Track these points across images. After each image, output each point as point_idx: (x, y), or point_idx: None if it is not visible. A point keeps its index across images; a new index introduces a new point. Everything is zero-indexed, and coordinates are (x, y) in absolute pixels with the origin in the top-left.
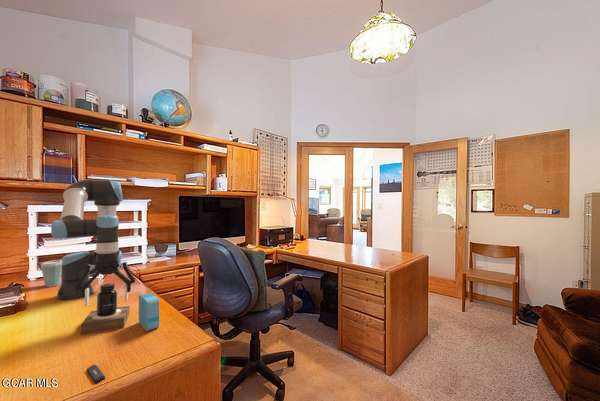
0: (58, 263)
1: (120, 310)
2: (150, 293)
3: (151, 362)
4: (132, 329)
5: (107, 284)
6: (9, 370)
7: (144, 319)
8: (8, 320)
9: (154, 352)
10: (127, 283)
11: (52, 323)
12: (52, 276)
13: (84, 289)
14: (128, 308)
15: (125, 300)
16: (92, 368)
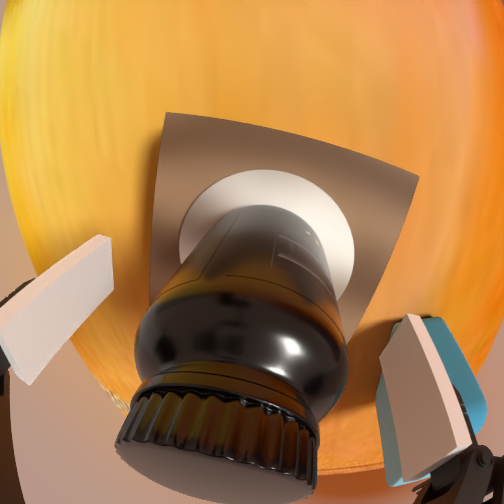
0: None
1: (349, 256)
2: None
3: (320, 468)
4: (350, 361)
5: (203, 473)
6: (88, 364)
7: (385, 409)
8: (6, 15)
9: (337, 456)
10: (428, 494)
11: (62, 73)
12: None
13: (8, 376)
14: (403, 215)
15: (384, 360)
16: None
